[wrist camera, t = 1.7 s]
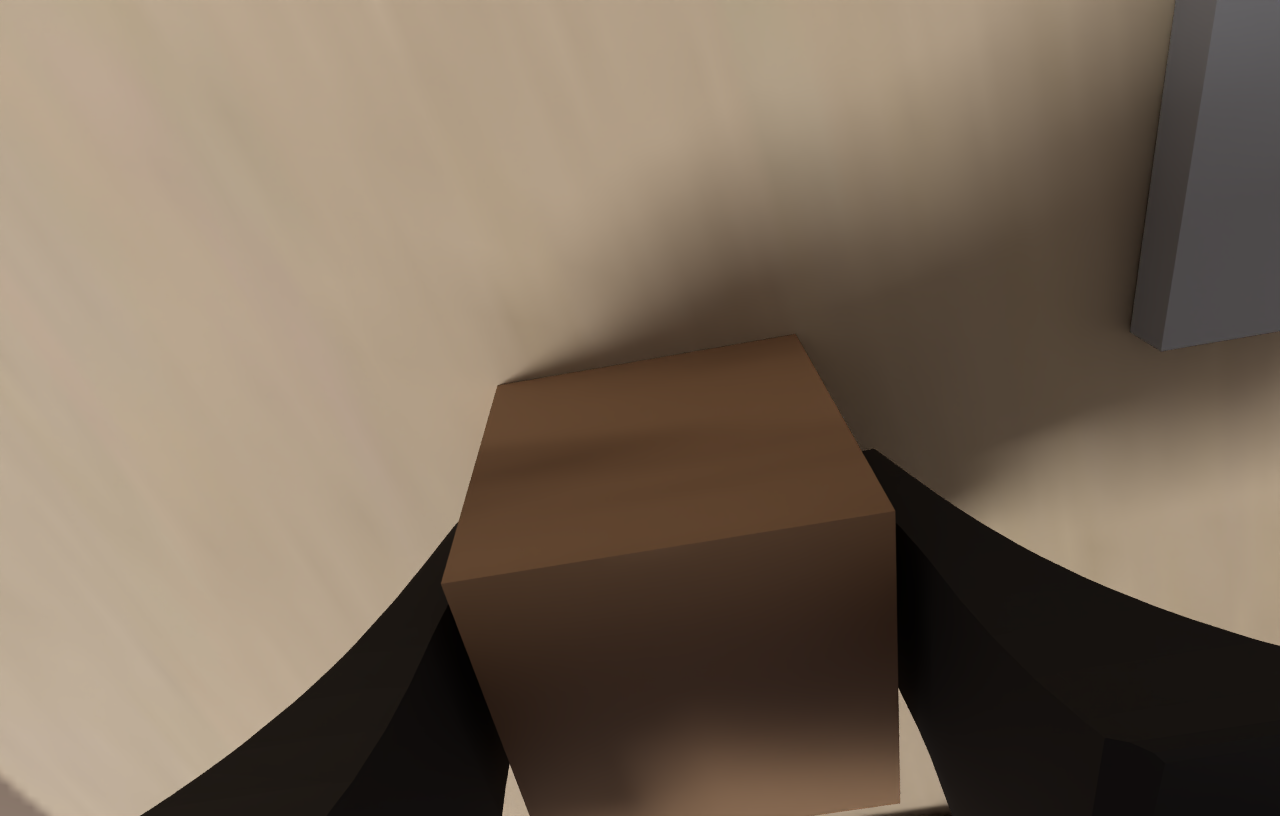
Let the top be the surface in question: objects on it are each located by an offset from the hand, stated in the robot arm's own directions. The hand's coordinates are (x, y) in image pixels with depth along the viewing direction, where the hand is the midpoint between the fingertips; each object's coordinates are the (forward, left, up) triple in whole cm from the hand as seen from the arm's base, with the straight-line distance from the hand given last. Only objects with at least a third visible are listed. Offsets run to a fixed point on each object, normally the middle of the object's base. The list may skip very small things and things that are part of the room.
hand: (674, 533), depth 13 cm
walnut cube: (0, 0, -2) cm, 2 cm away
